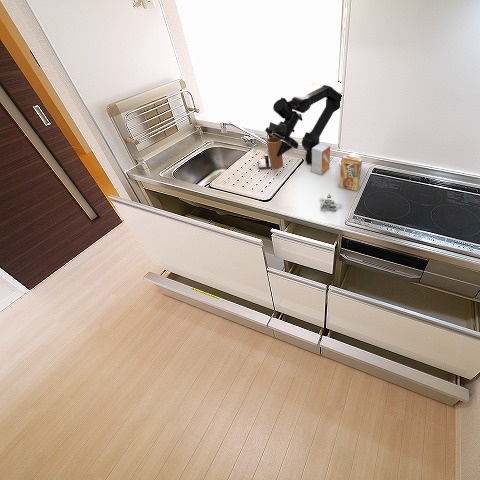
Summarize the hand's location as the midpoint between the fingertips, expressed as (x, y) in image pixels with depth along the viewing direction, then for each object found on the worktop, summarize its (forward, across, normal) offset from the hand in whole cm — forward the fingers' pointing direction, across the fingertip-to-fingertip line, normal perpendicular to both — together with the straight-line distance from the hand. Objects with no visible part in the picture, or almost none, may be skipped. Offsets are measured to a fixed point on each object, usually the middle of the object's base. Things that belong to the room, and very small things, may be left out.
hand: (273, 153), depth 123 cm
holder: (+6, -14, +13) cm, 20 cm away
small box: (-6, +10, +26) cm, 28 cm away
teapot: (+7, +35, +12) cm, 38 cm away
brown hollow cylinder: (+4, 0, +6) cm, 7 cm away
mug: (-14, +21, +33) cm, 42 cm away
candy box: (-5, +31, +25) cm, 40 cm away
